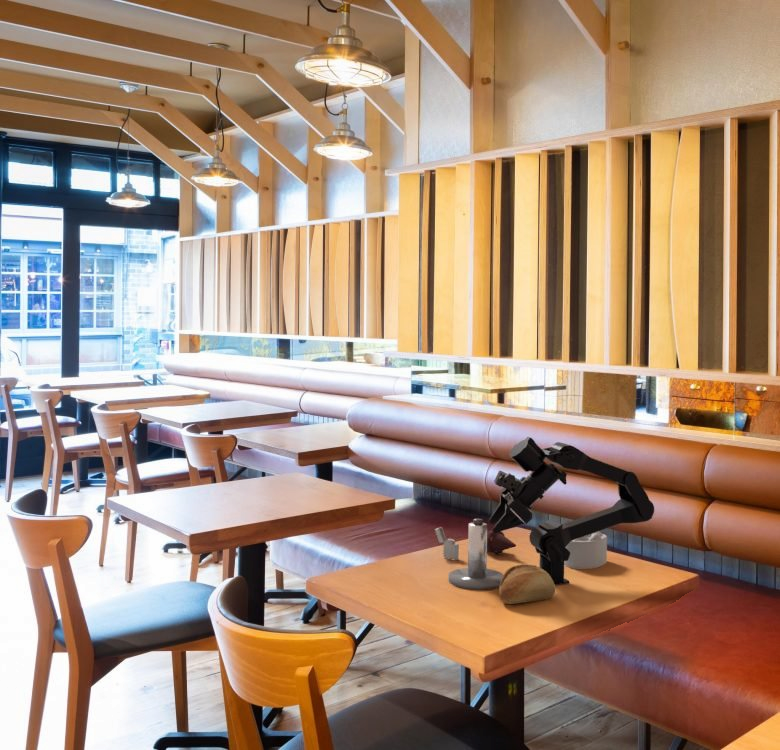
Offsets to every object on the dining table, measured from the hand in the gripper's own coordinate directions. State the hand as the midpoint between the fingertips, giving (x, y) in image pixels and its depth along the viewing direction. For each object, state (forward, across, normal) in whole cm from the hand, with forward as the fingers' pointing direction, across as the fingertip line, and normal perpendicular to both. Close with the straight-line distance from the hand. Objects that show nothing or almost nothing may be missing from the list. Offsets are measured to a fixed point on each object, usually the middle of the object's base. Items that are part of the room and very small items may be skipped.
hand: (491, 527), depth 201 cm
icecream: (+7, -25, +12) cm, 29 cm away
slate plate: (+12, 0, +7) cm, 14 cm away
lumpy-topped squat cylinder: (-9, -18, +28) cm, 34 cm away
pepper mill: (+11, 0, +6) cm, 13 cm away
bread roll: (+5, +14, +15) cm, 21 cm away
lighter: (+17, -21, +3) cm, 27 cm away
